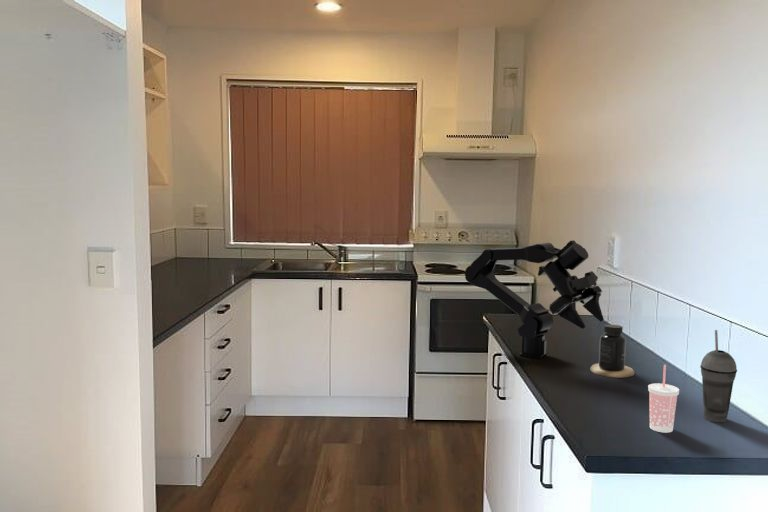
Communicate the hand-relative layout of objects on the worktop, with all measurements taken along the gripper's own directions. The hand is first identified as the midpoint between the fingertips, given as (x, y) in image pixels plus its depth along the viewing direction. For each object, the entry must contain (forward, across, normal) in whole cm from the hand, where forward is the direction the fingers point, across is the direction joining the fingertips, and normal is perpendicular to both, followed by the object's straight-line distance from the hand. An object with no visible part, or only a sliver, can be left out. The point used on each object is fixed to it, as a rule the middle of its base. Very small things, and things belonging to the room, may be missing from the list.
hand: (593, 324), depth 178 cm
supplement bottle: (+12, 0, +4) cm, 13 cm away
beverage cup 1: (+31, -29, -19) cm, 46 cm away
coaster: (+13, 0, +4) cm, 14 cm away
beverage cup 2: (+35, -14, -22) cm, 43 cm away
